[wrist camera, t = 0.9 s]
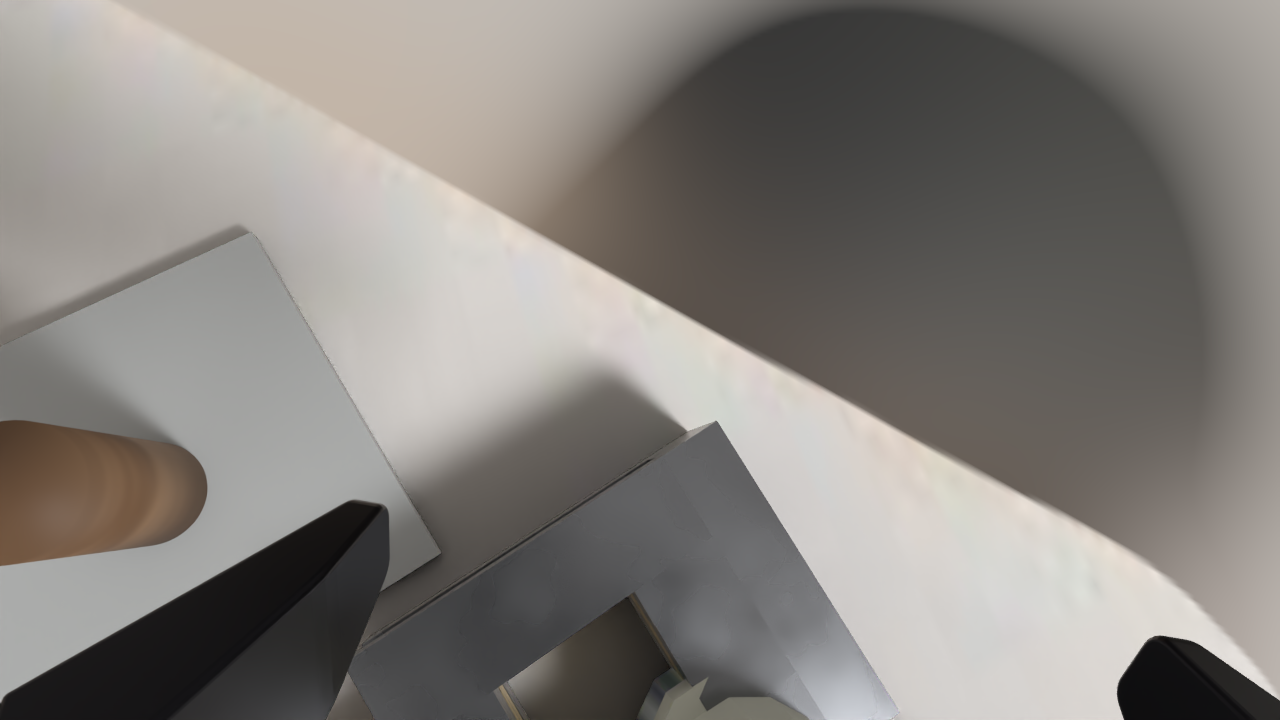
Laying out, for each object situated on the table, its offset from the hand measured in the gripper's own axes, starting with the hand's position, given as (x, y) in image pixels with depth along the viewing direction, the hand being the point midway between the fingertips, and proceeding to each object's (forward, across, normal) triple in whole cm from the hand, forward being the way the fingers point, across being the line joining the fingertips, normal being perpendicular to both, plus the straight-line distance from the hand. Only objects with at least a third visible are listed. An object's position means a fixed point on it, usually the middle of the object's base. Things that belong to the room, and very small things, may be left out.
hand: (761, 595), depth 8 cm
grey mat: (+9, +15, +9) cm, 20 cm away
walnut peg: (+9, +15, +9) cm, 20 cm away
